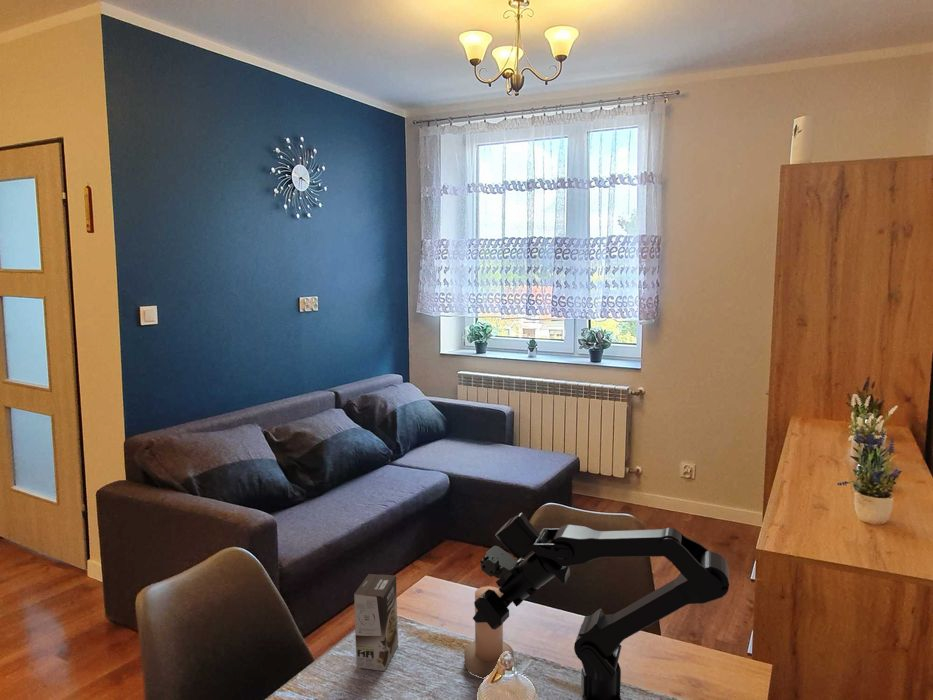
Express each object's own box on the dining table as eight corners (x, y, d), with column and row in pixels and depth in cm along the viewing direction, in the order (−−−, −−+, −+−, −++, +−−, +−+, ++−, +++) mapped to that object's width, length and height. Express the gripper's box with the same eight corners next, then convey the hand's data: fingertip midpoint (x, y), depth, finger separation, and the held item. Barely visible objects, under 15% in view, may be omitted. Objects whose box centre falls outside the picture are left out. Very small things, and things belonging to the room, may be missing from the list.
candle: (502, 644, 136) (502, 586, 134) (503, 661, 131) (503, 600, 129) (475, 644, 136) (474, 586, 134) (475, 661, 131) (475, 600, 129)
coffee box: (385, 671, 132) (383, 597, 130) (355, 668, 133) (352, 594, 131) (399, 645, 141) (397, 574, 138) (370, 642, 142) (368, 572, 140)
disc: (511, 651, 139) (511, 638, 139) (515, 682, 129) (515, 668, 129) (464, 651, 139) (464, 638, 139) (464, 682, 129) (464, 668, 129)
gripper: (525, 521, 136) (479, 560, 143) (483, 558, 120) (433, 600, 127) (561, 566, 133) (512, 603, 140) (522, 609, 117) (469, 649, 124)
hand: (482, 611), depth 133 cm, fingers open, 6 cm apart
